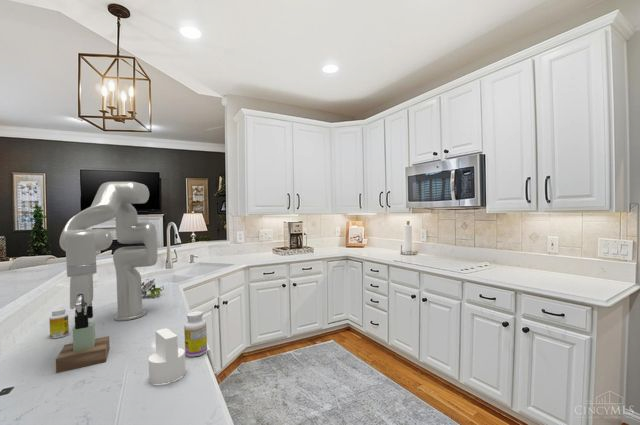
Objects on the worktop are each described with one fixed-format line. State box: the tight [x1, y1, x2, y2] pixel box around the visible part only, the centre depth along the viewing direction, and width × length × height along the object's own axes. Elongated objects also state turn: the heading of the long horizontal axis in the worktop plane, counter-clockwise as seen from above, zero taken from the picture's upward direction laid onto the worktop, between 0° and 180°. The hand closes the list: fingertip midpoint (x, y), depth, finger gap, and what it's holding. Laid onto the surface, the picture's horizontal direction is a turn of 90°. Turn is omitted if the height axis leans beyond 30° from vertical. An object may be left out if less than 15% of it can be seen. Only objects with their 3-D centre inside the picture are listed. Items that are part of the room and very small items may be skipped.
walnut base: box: [55, 335, 111, 374], centre depth 98 cm, size 12×12×4 cm
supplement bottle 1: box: [48, 307, 70, 339], centre depth 118 cm, size 6×6×10 cm
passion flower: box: [141, 278, 165, 299], centre depth 174 cm, size 11×11×12 cm
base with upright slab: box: [148, 327, 186, 385], centre depth 85 cm, size 9×9×12 cm
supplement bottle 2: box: [183, 310, 208, 358], centre depth 99 cm, size 7×7×13 cm
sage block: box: [72, 320, 96, 352], centre depth 98 cm, size 5×5×7 cm
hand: (84, 323), depth 98 cm, fingers open, 9 cm apart
